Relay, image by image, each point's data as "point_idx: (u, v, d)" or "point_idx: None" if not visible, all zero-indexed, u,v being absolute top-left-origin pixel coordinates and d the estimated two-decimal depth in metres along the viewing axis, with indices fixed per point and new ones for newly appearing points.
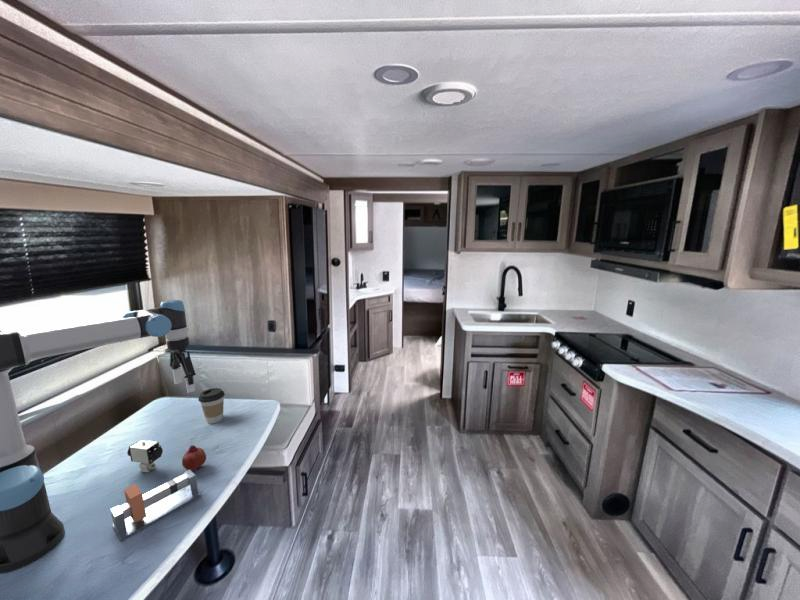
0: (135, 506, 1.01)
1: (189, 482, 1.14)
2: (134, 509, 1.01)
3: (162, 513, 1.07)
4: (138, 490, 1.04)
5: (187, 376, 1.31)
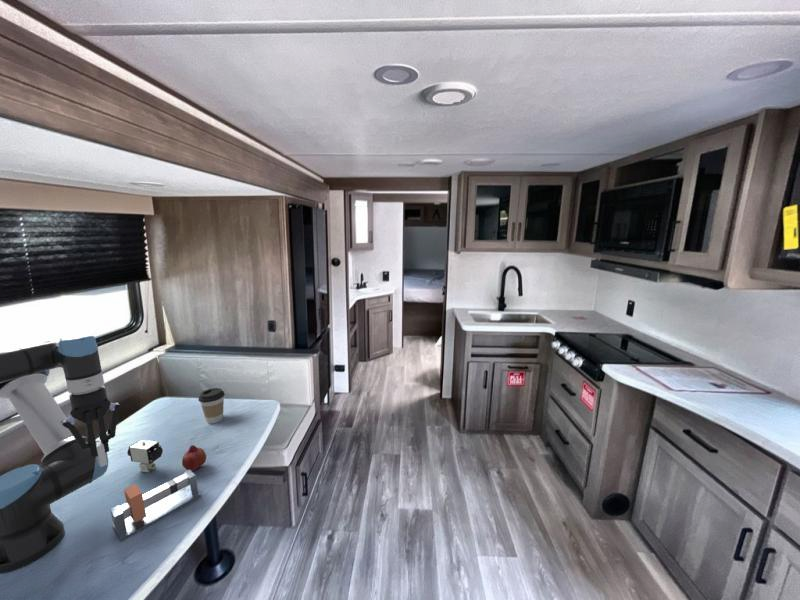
0: (135, 506, 1.01)
1: (189, 482, 1.14)
2: (134, 509, 1.01)
3: (162, 513, 1.07)
4: (138, 490, 1.04)
5: None
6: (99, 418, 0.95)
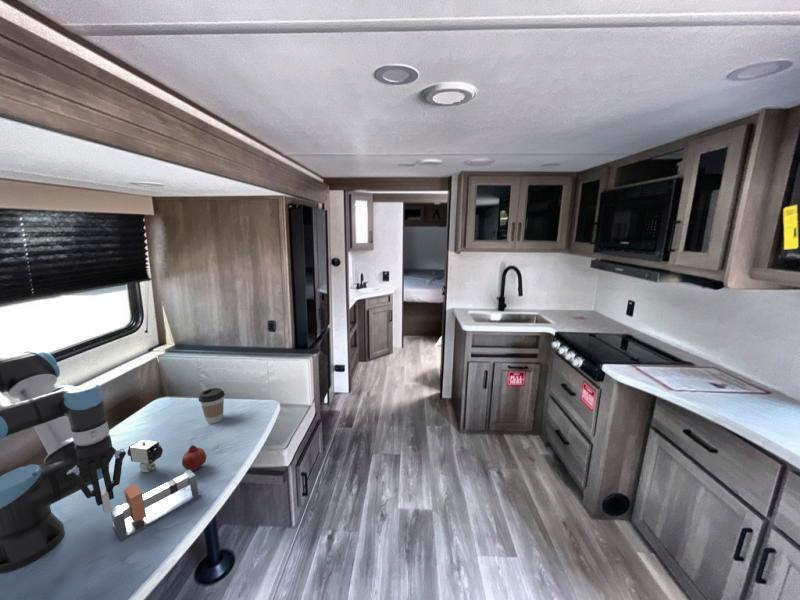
0: (135, 506, 1.01)
1: (189, 482, 1.14)
2: (134, 509, 1.01)
3: (162, 513, 1.07)
4: (138, 490, 1.04)
5: None
6: (104, 467, 0.96)
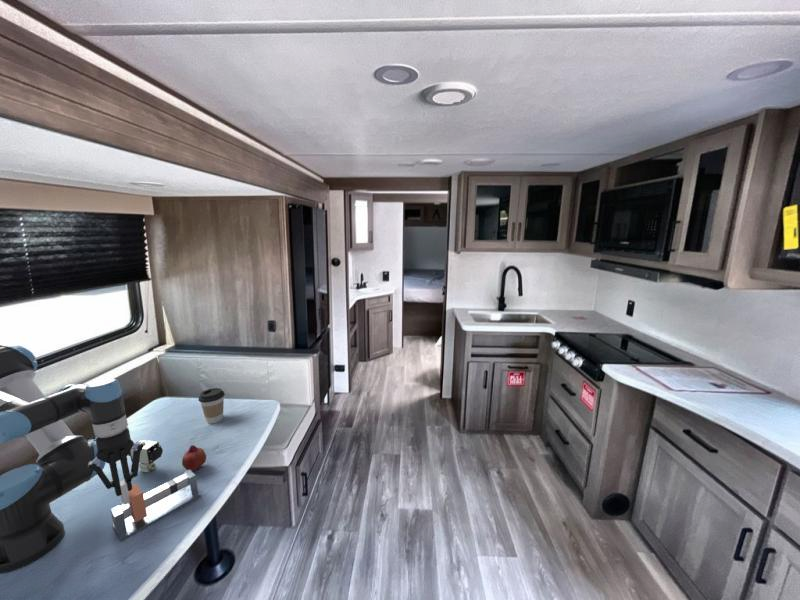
0: (135, 505, 1.02)
1: (189, 482, 1.14)
2: (135, 509, 1.02)
3: (162, 513, 1.07)
4: (139, 490, 1.04)
5: None
6: (123, 459, 0.99)
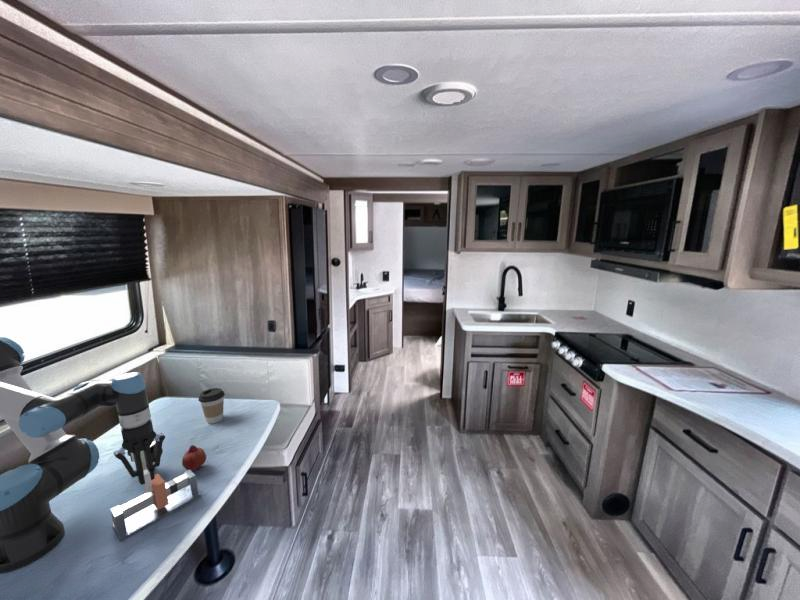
0: (158, 494, 1.06)
1: (189, 482, 1.14)
2: (157, 497, 1.06)
3: (162, 513, 1.07)
4: (161, 479, 1.08)
5: None
6: (146, 449, 1.04)
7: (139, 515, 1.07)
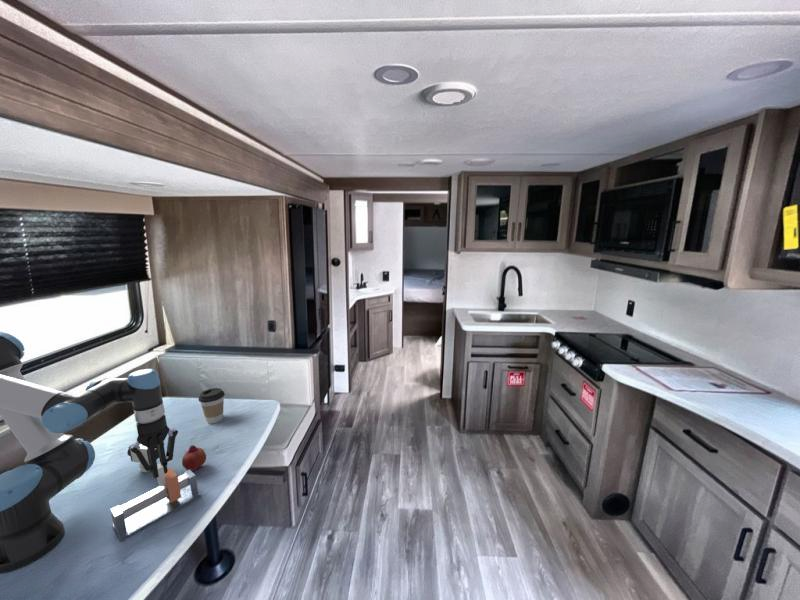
0: (171, 487, 1.09)
1: (189, 482, 1.14)
2: (170, 490, 1.09)
3: (162, 513, 1.07)
4: (173, 473, 1.11)
5: None
6: (160, 443, 1.07)
7: (139, 515, 1.07)
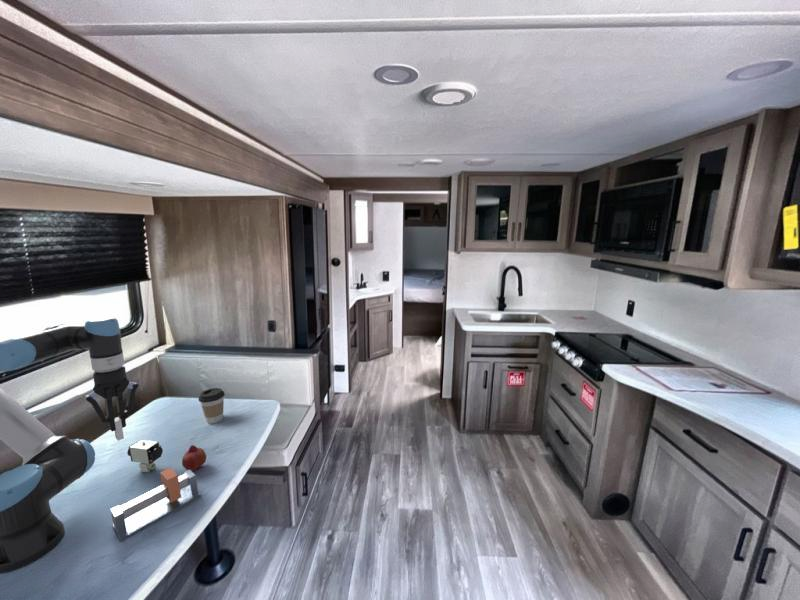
0: (171, 487, 1.09)
1: (189, 482, 1.14)
2: (170, 490, 1.09)
3: (162, 513, 1.07)
4: (173, 473, 1.11)
5: None
6: (118, 395, 1.03)
7: (139, 515, 1.07)
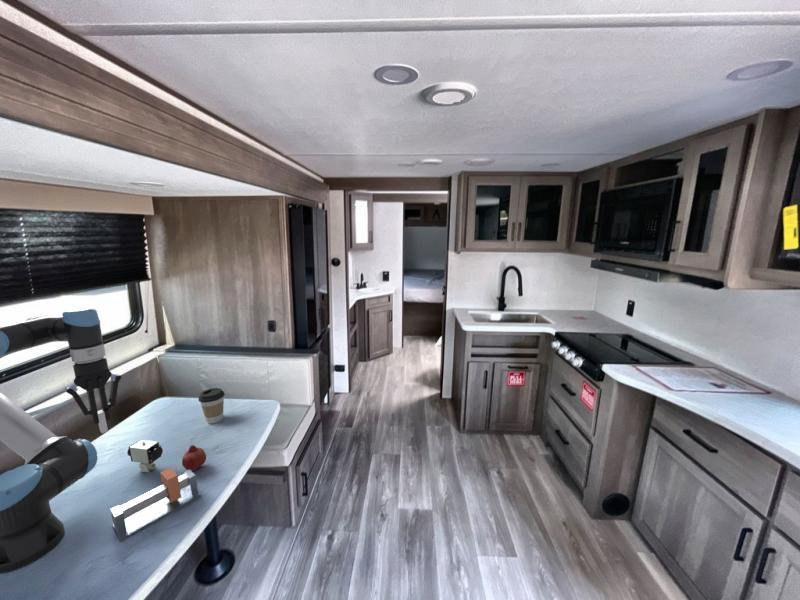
0: (171, 487, 1.09)
1: (189, 482, 1.14)
2: (170, 490, 1.09)
3: (162, 513, 1.07)
4: (173, 473, 1.11)
5: None
6: (100, 387, 1.01)
7: (139, 515, 1.07)
